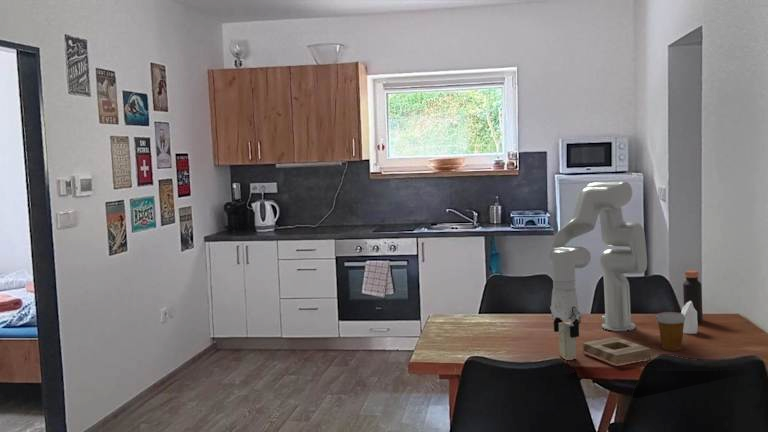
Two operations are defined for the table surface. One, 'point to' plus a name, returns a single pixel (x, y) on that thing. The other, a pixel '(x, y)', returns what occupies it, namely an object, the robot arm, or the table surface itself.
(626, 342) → the socket block
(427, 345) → the table surface
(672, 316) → the disposable coffee cup
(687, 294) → the bottle
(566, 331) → the skincare box
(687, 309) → the white house shaped block
